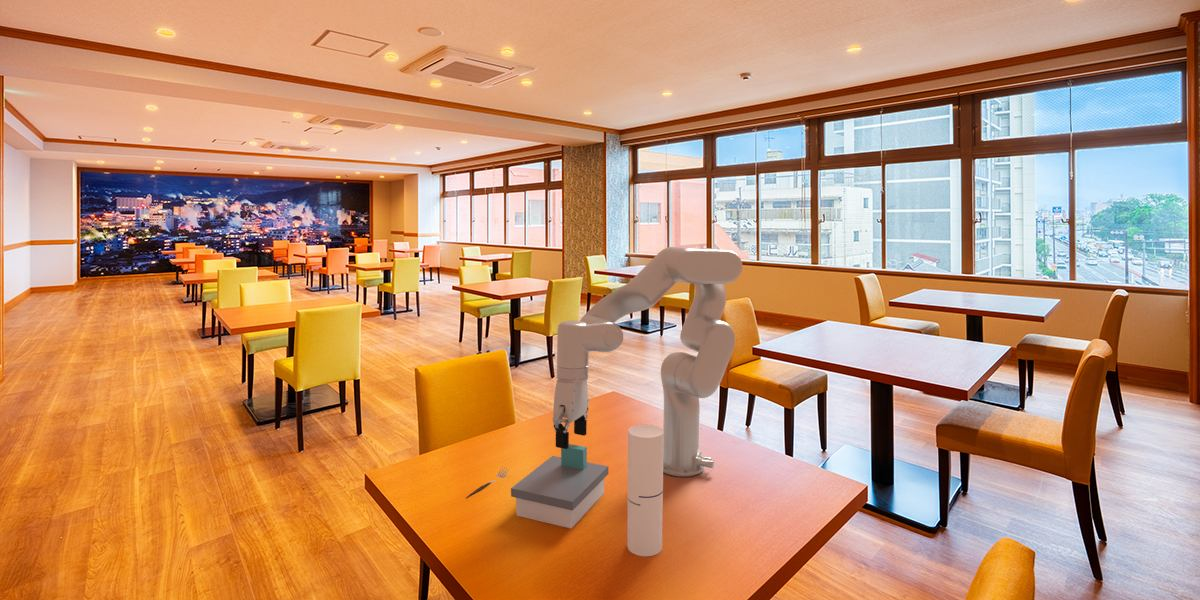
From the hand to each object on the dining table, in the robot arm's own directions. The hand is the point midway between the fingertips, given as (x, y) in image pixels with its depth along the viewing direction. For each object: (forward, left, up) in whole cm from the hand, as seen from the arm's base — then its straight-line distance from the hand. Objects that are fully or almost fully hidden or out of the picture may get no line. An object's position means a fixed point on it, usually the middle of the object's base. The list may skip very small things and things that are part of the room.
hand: (571, 440), depth 142 cm
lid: (0, +6, -9) cm, 10 cm away
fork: (+22, +5, -14) cm, 26 cm away
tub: (0, +6, -13) cm, 15 cm away
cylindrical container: (-24, +15, -14) cm, 32 cm away
